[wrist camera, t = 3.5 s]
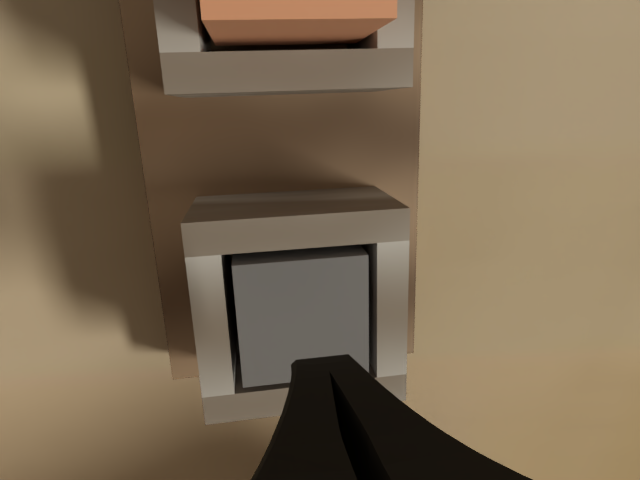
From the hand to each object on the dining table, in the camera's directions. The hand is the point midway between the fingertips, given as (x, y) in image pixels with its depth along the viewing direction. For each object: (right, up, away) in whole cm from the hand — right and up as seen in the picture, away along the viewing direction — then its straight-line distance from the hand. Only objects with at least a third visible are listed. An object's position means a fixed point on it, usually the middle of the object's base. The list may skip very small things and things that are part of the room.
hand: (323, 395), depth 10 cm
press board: (-2, +8, +8) cm, 11 cm away
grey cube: (-1, +2, +7) cm, 8 cm away
